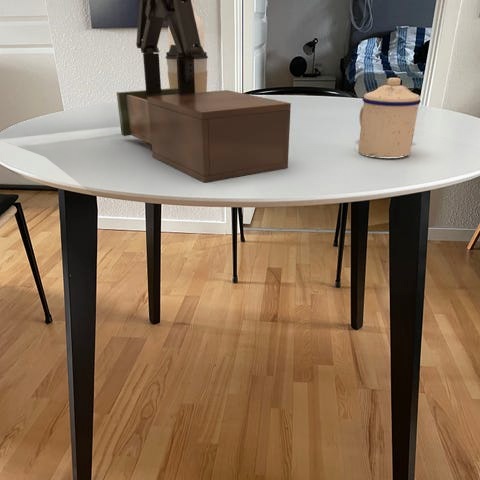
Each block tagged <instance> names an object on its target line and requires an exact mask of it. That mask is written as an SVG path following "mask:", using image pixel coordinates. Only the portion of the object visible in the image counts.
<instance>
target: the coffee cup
mask: <svg viewBox="0 0 480 480" xmlns="http://www.w3.org/2000/svg"><path fill="white" fill-rule="evenodd" d="M194 47H195V46H194ZM201 48H202V46H201ZM177 54H178V51H177V48H176V45H171V46H170V50H168V51H167V52H165V55H166V56H165V59H166V66H167V71H166V72H167V78H168V85H169V88H178V76H177V59H176V56H177ZM208 59H209V57H208V52H206V51H205V49H204V50H203V48H202V54H201V55H197V56H196V59H194V76H195V93H198V92H208V91H207V90H208V69H207V68H208Z"/></svg>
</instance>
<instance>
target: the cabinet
mask: <svg viewBox="0 0 480 480" xmlns="http://www.w3.org/2000/svg"><path fill="white" fill-rule="evenodd" d="M147 101H148V111H149V122H150V134H151V144H150V145H151V154H152V158H154V159H156V160H157V161H160V162H162V163H163V164H166V165H168V166H170V167H171V168H174V169H176V170H178V171H180V172H182V173H184V174H186V175H189V176H191V177H192V178H194V179H197V180H199V181H201V182H203V183H209V182H210V183H211V182H215V181H216V182H217V181H222V180H227V179H233V178H238V177H244V176H249V175H254V174H261V173H266V172H271V171H276V170H277V171H279V170H284V169H288V168H289V150H290V128H291V127H290V126H291V109H292V107H291V106H292V103H290V102H287V101H283V100H277V99H272V98H267V97H263V96H257V95H253V94H248V93H243V92H238V91H232V90H228V89H225V90H224V89H223V90H212V91H207V92H198V93H186V94H174V95H162V96H150V97H147Z"/></svg>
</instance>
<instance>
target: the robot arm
mask: <svg viewBox="0 0 480 480" xmlns="http://www.w3.org/2000/svg"><path fill="white" fill-rule="evenodd" d="M164 21H165V22H166V23H167V25H168V26H169V28H170V31H171V34H172V37H173V40H174V43H175V45H176V48H177V51H178V54H177V56H176V59H177V76H178V94H186V93H195V76H194V59H196V56H197V55H201V54H202V48H201V43H200V39H199V34H198V30H197V25H196V21H195V16H194V12H193V7H192V3H191V0H139V5H138V17H137V30H136V31H137V32H136V43H135V45H136V48H137V49H140V51H141V53H142V59H143V71H144V82H145V90H146V94H158V93H161V89H162V82H161V81H162V80H161V67H160V54H159V53H160V49H159V47H158V44H159V42H160V41H159V40H160V37H161V32H162V29H163V24H164ZM168 26H167V27H168ZM194 46H195V47H194Z"/></svg>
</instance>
